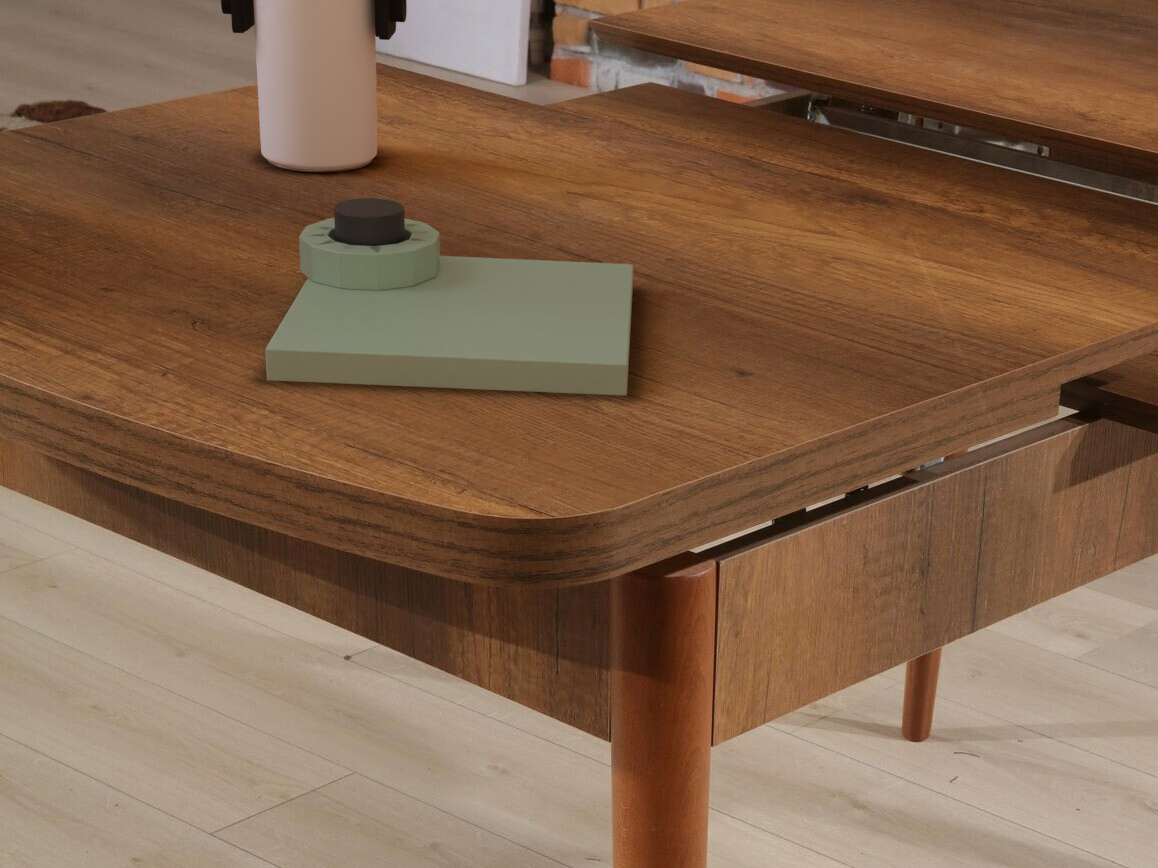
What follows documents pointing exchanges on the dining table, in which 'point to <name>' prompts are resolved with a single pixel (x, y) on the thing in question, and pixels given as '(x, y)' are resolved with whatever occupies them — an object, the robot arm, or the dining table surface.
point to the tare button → (369, 222)
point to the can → (316, 83)
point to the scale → (452, 319)
